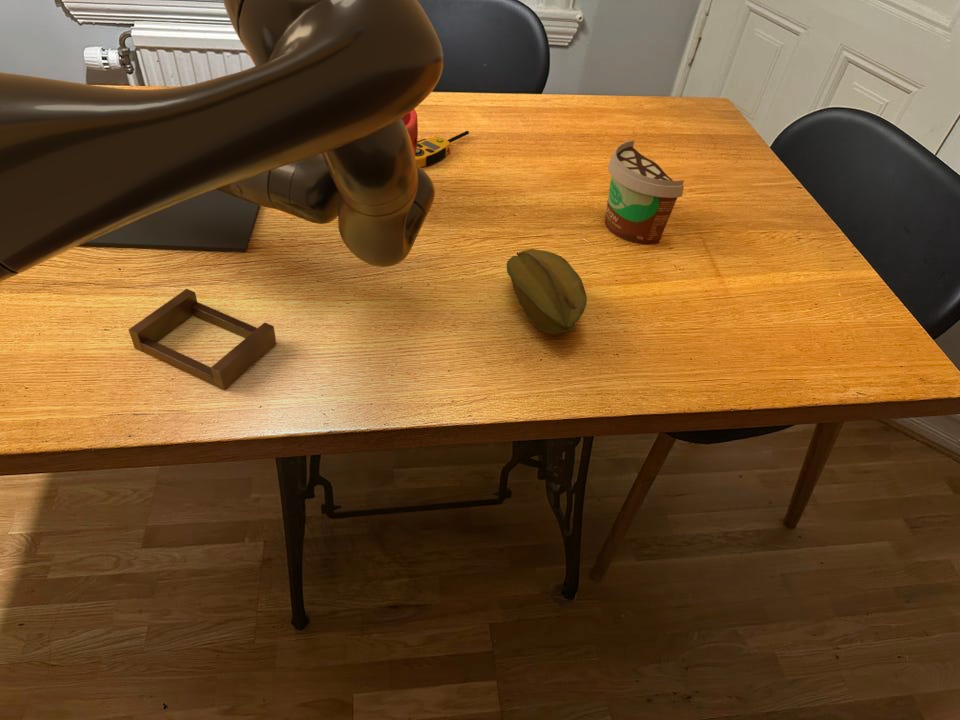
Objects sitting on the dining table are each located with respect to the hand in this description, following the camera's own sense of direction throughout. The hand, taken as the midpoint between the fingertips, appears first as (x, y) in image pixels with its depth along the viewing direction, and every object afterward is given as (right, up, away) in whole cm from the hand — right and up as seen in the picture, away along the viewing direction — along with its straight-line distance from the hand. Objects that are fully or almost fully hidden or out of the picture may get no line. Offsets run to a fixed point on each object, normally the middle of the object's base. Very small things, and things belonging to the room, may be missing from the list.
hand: (132, 122), depth 78 cm
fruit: (+46, -21, +4) cm, 51 cm away
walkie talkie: (+32, +6, +31) cm, 45 cm away
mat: (-1, -6, +13) cm, 14 cm away
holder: (+10, -25, -5) cm, 28 cm away
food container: (+58, -8, +19) cm, 62 cm away
